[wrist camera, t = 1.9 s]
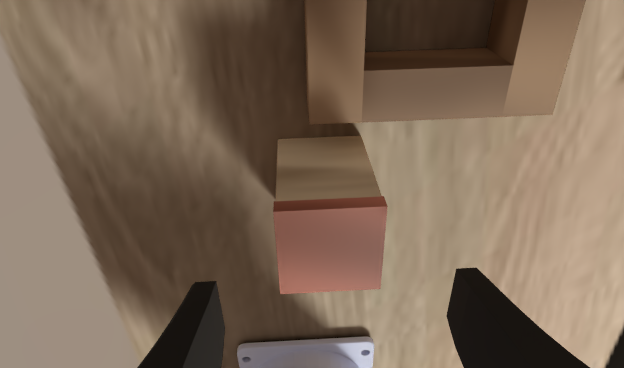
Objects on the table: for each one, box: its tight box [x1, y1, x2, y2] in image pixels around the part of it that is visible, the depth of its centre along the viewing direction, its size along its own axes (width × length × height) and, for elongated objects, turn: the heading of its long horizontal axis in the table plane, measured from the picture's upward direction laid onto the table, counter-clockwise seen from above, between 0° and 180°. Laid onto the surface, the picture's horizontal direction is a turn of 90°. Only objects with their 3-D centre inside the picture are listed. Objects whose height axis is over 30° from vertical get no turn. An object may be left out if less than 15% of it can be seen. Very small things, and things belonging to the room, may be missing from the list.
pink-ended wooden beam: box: [273, 136, 387, 294], centre depth 17 cm, size 4×4×6 cm
